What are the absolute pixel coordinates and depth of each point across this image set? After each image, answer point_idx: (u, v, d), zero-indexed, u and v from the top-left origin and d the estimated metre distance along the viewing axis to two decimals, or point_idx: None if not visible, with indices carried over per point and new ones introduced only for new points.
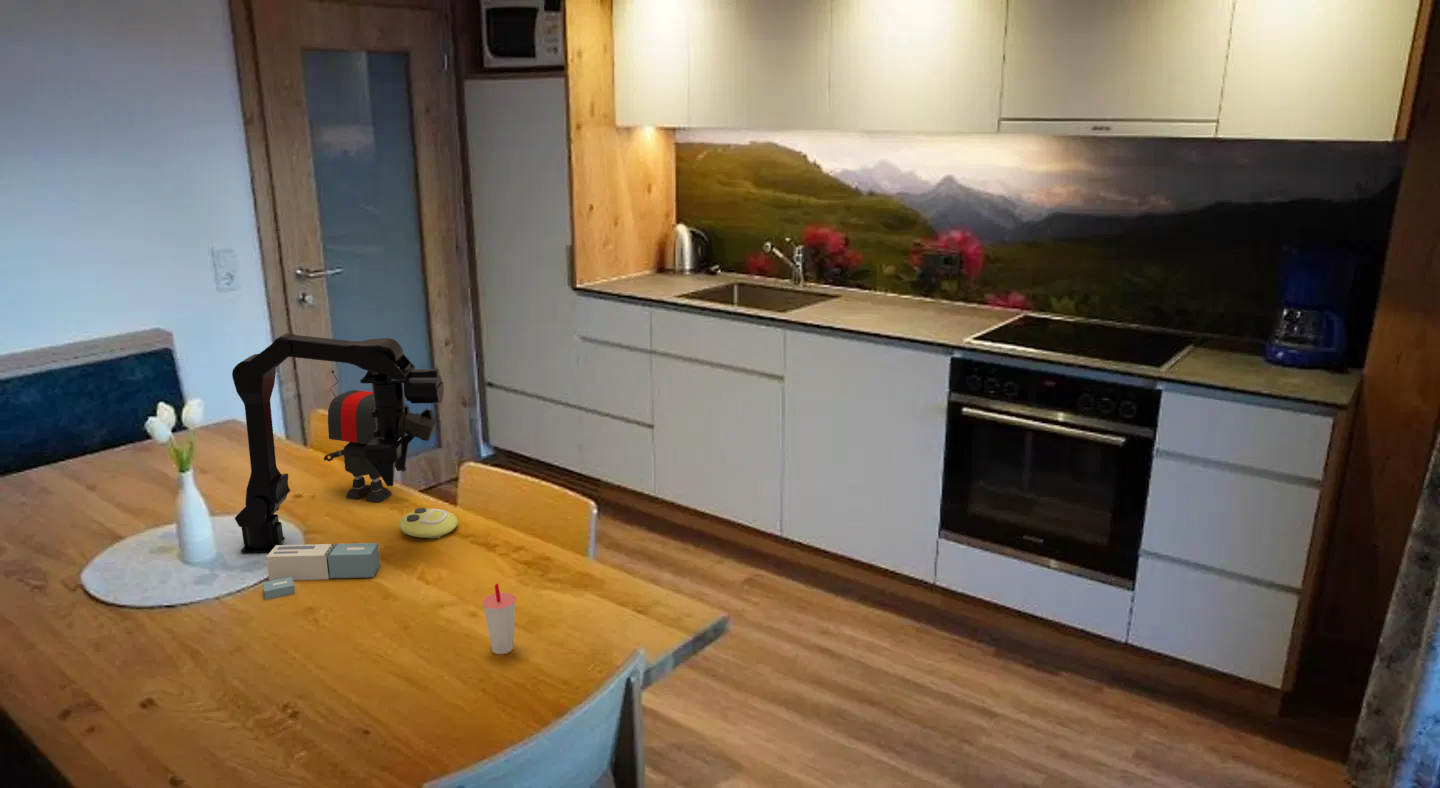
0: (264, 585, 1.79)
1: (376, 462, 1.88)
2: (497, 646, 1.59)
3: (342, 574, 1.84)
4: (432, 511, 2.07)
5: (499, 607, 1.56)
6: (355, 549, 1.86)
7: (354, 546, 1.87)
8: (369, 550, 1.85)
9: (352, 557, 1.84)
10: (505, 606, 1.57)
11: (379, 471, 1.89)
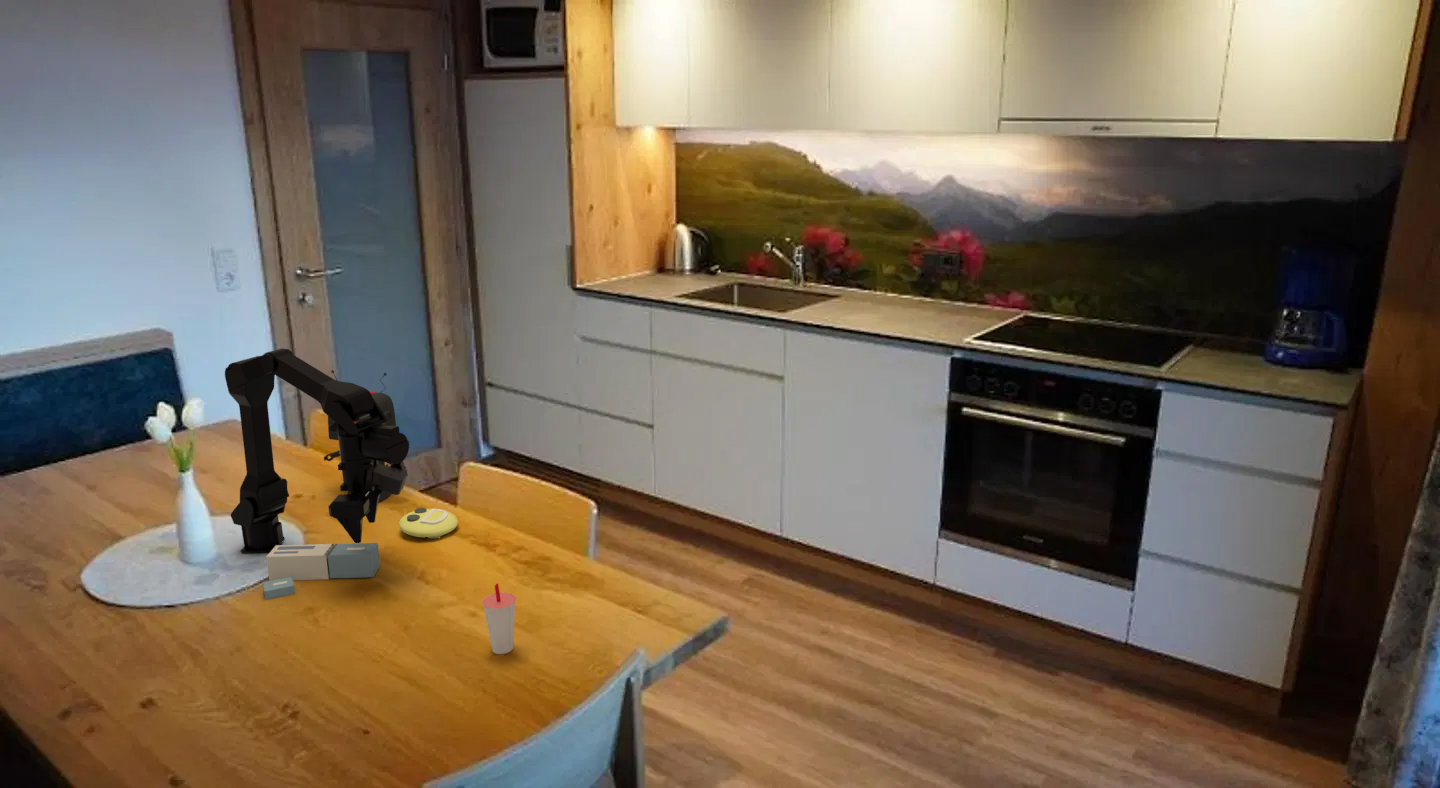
0: (264, 585, 1.79)
1: (342, 519, 1.77)
2: (497, 646, 1.59)
3: (342, 574, 1.84)
4: (432, 511, 2.07)
5: (499, 607, 1.56)
6: (355, 549, 1.86)
7: (354, 546, 1.87)
8: (369, 550, 1.85)
9: (352, 557, 1.84)
10: (505, 606, 1.57)
11: (346, 528, 1.78)
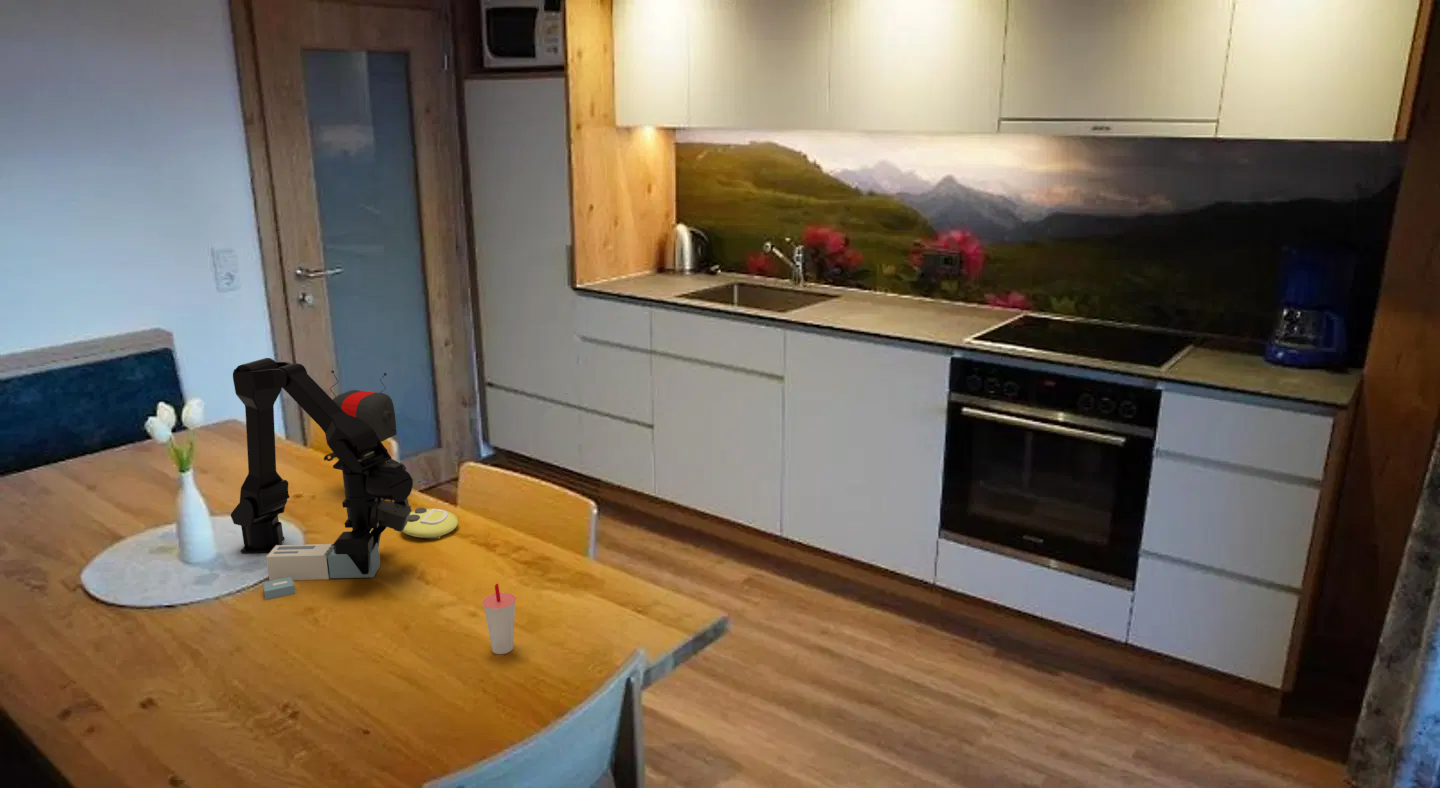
0: (264, 585, 1.79)
1: None
2: (497, 646, 1.59)
3: (342, 574, 1.84)
4: (432, 511, 2.07)
5: (499, 607, 1.56)
6: None
7: None
8: None
9: None
10: (505, 606, 1.57)
11: (353, 560, 1.82)
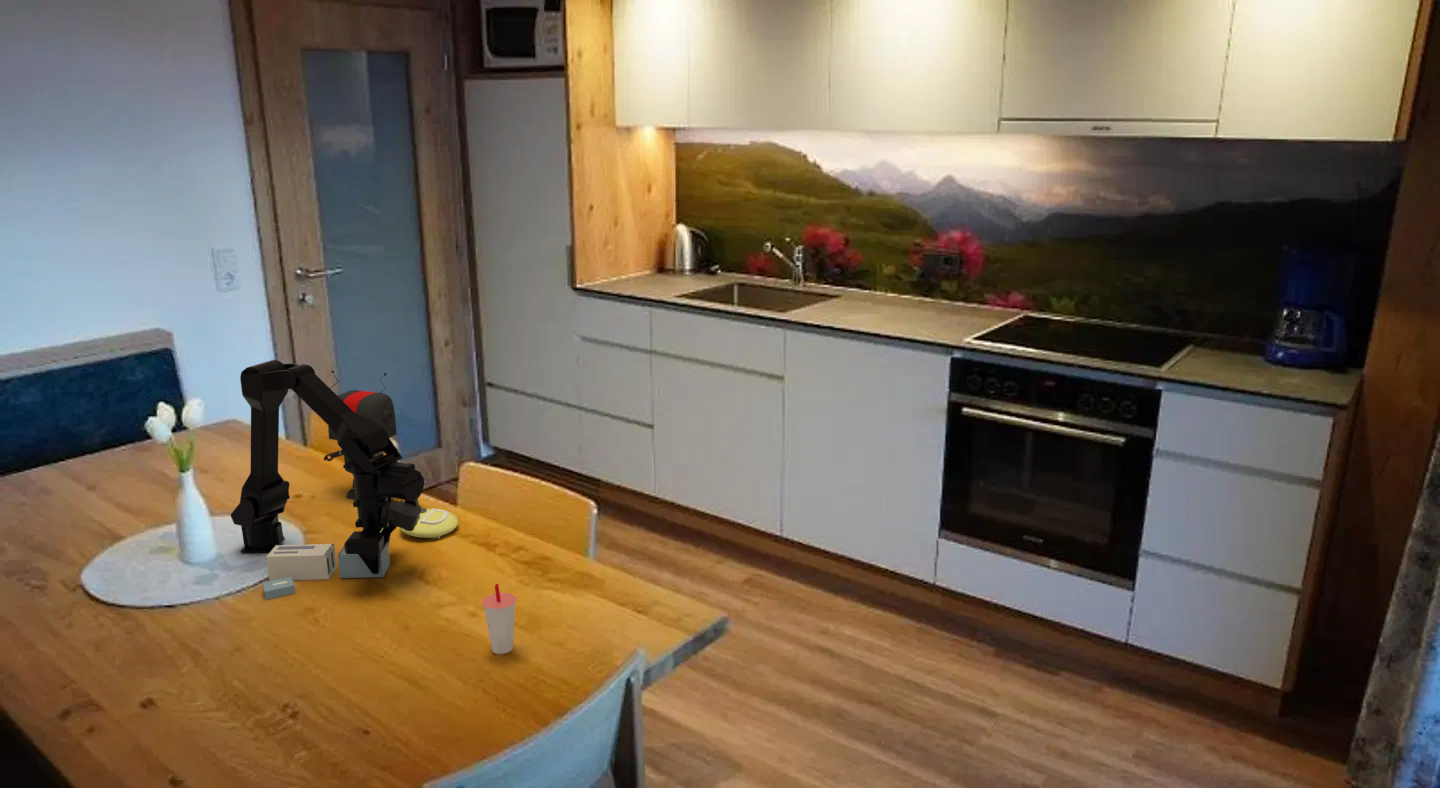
0: (264, 585, 1.79)
1: None
2: (497, 646, 1.59)
3: (353, 573, 1.85)
4: (432, 511, 2.07)
5: (499, 607, 1.56)
6: None
7: None
8: None
9: None
10: (505, 606, 1.57)
11: (364, 559, 1.82)
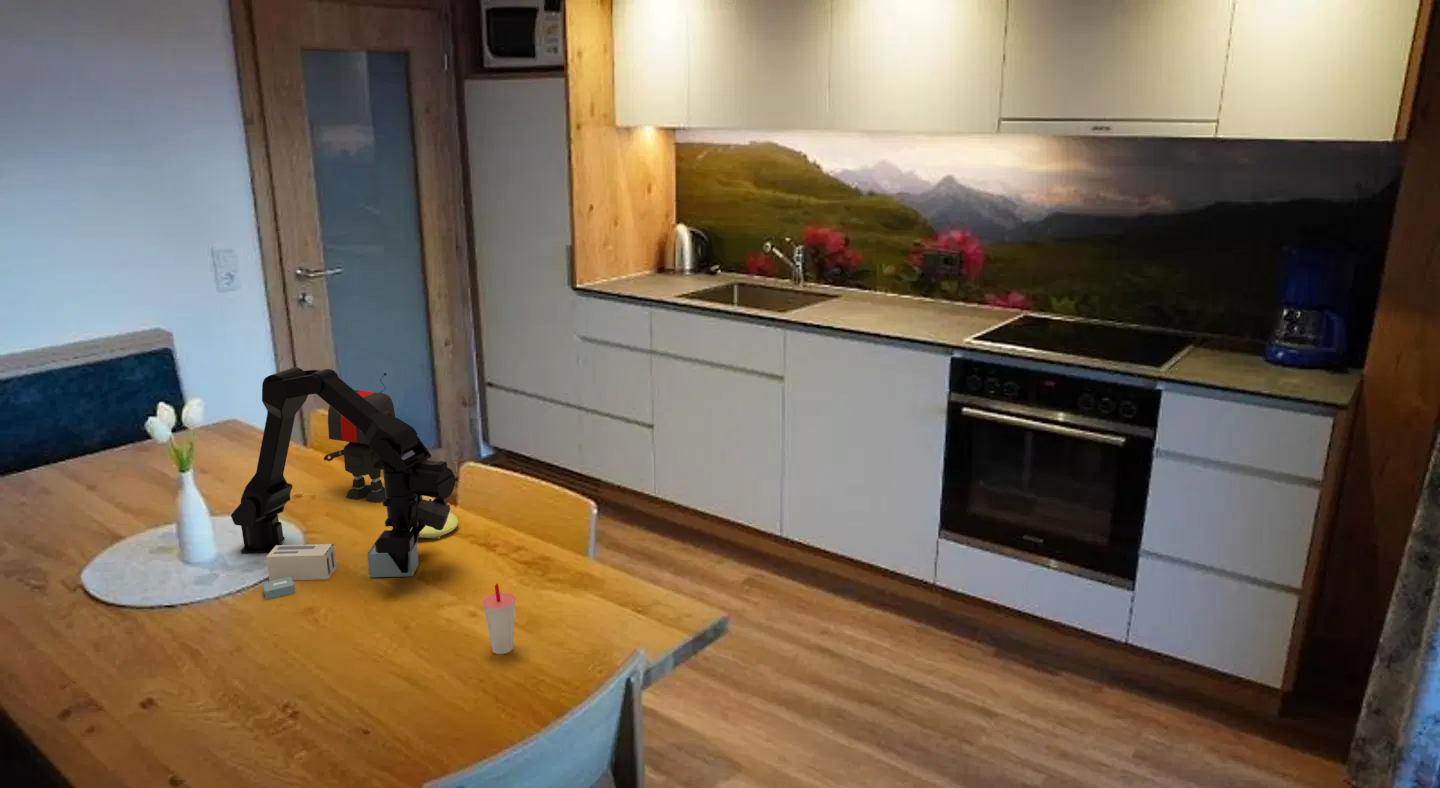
0: (264, 585, 1.79)
1: None
2: (497, 646, 1.59)
3: (382, 573, 1.85)
4: None
5: (499, 607, 1.56)
6: None
7: None
8: None
9: None
10: (505, 606, 1.57)
11: (393, 558, 1.83)
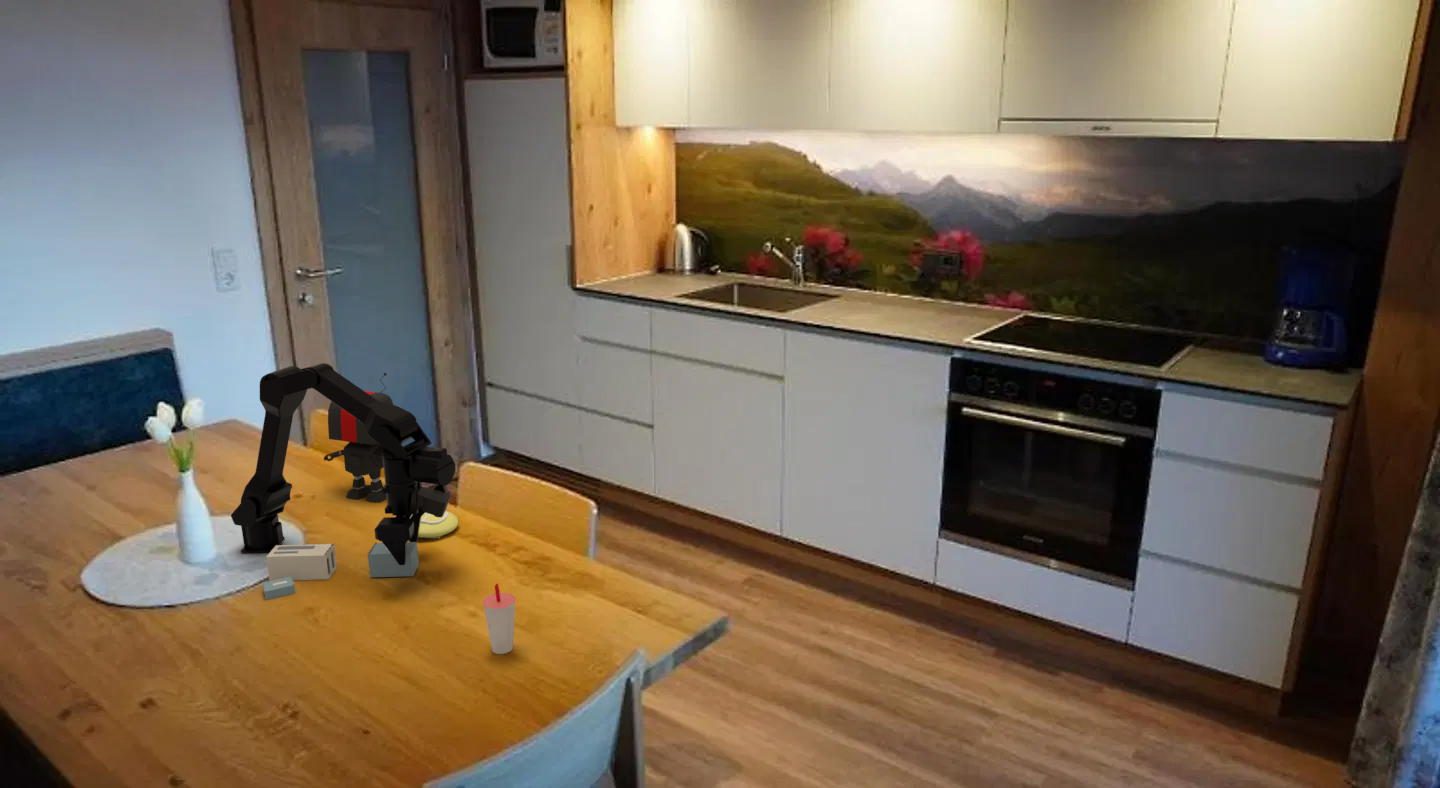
0: (264, 585, 1.79)
1: (387, 541, 1.79)
2: (497, 646, 1.59)
3: (382, 573, 1.85)
4: None
5: (499, 607, 1.56)
6: None
7: None
8: (408, 549, 1.86)
9: (392, 556, 1.84)
10: (505, 606, 1.57)
11: (390, 550, 1.80)
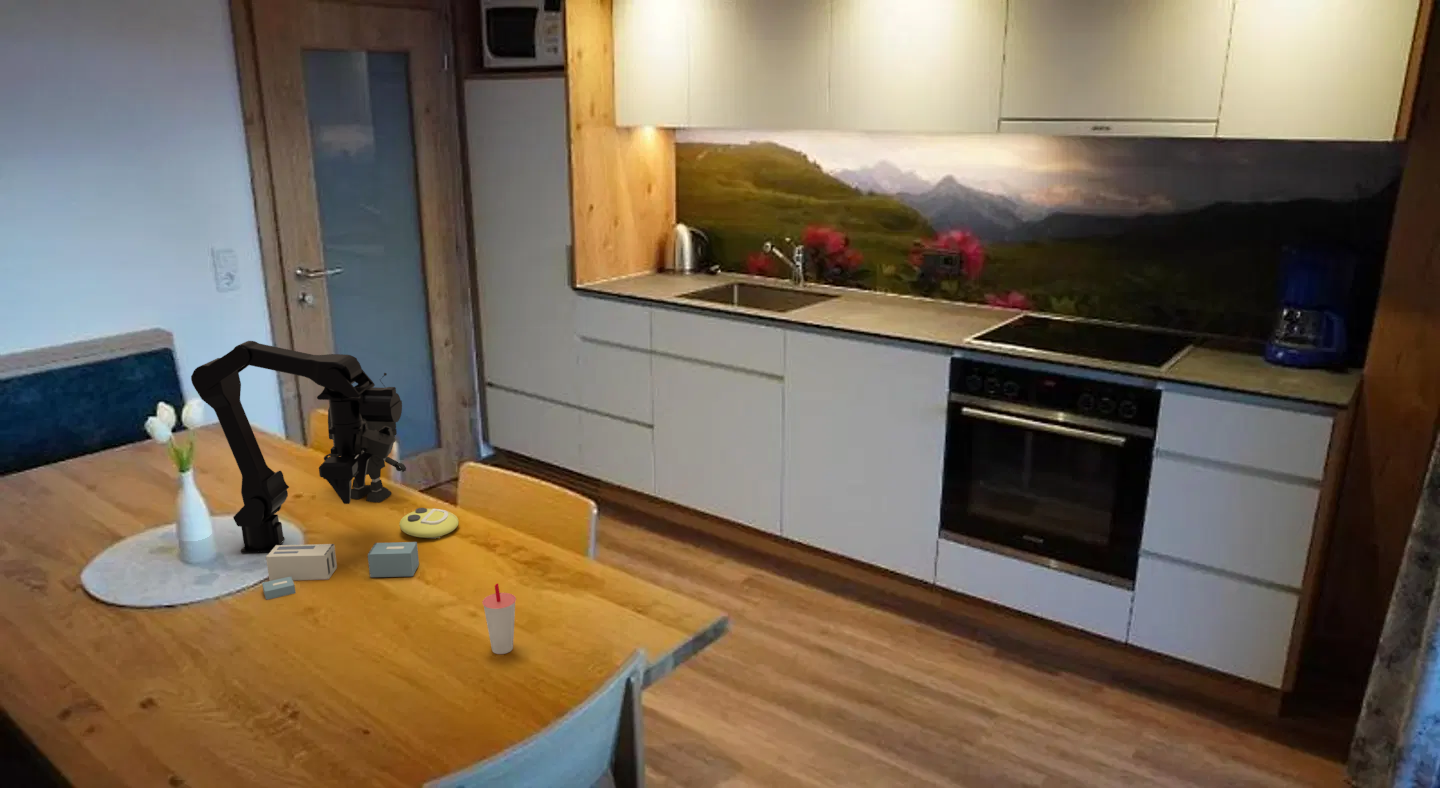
0: (264, 585, 1.79)
1: (332, 480, 1.86)
2: (497, 646, 1.59)
3: (382, 573, 1.85)
4: (433, 511, 2.07)
5: (499, 607, 1.56)
6: (394, 548, 1.86)
7: (394, 545, 1.87)
8: (408, 549, 1.86)
9: (392, 556, 1.84)
10: (505, 606, 1.57)
11: (335, 489, 1.87)
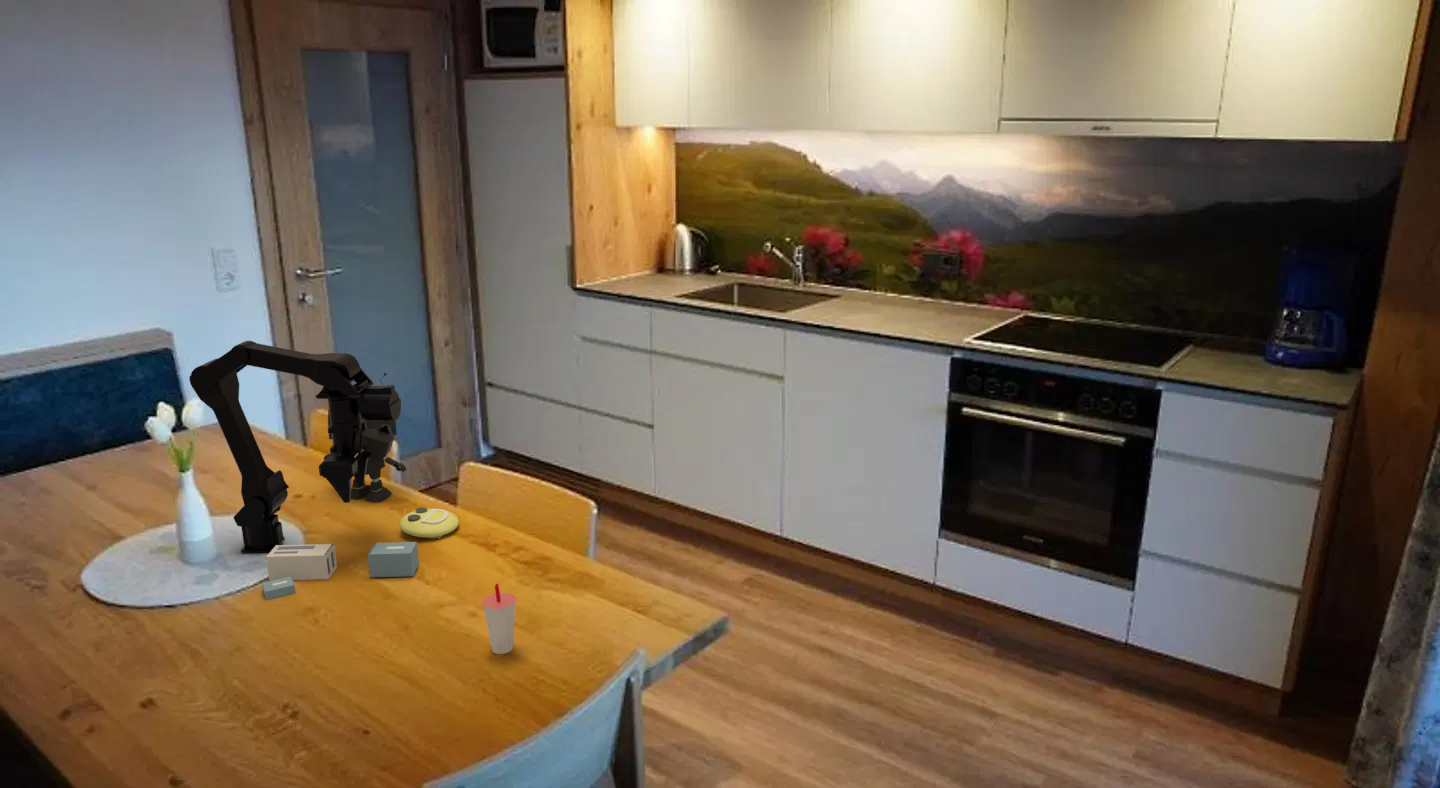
0: (264, 585, 1.79)
1: (332, 479, 1.86)
2: (497, 646, 1.59)
3: (382, 573, 1.85)
4: (433, 511, 2.07)
5: (499, 607, 1.56)
6: (394, 548, 1.86)
7: (394, 545, 1.87)
8: (408, 549, 1.86)
9: (392, 556, 1.84)
10: (505, 606, 1.57)
11: (335, 488, 1.88)
